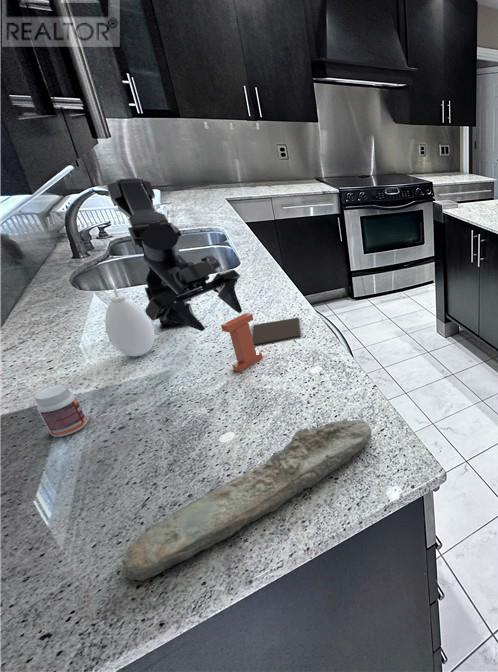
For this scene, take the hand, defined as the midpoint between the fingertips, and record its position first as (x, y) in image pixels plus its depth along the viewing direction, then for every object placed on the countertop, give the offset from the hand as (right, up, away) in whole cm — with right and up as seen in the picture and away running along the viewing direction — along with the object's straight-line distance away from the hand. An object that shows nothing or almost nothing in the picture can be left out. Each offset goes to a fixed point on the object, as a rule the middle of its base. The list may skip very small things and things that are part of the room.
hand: (223, 320), depth 92 cm
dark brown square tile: (+2, -4, +17) cm, 18 cm away
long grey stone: (+27, -25, -27) cm, 46 cm away
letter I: (+4, -11, +3) cm, 12 cm away
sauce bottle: (-24, -9, +5) cm, 26 cm away
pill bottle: (-16, -19, -17) cm, 30 cm away
